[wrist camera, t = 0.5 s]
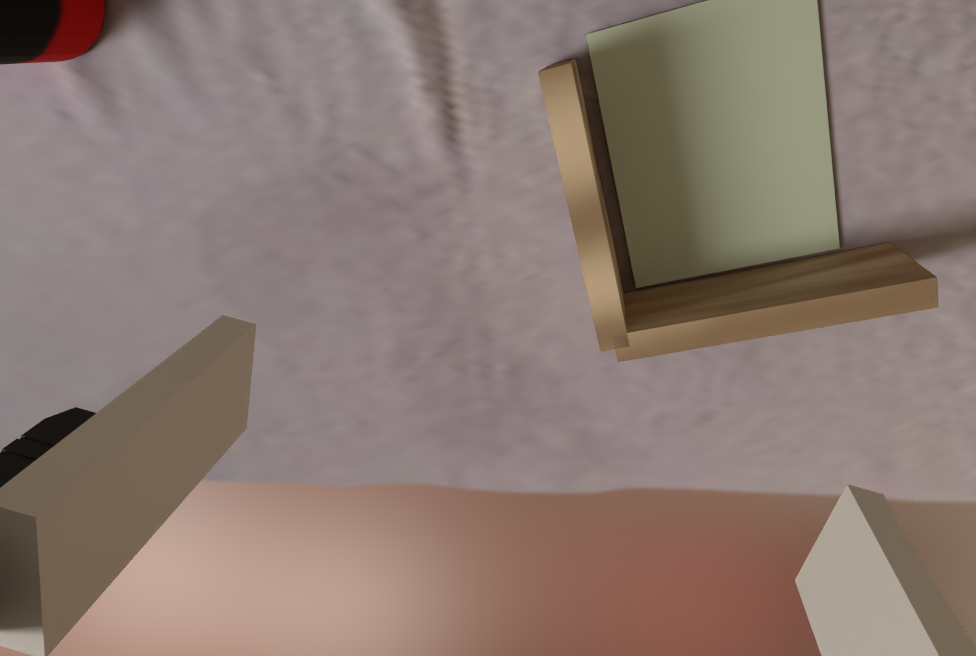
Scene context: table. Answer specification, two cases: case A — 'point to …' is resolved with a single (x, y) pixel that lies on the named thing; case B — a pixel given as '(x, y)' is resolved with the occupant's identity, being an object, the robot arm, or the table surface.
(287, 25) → the table surface
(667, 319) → the wooden l-shaped piece
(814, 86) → the pad
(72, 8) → the soda can
